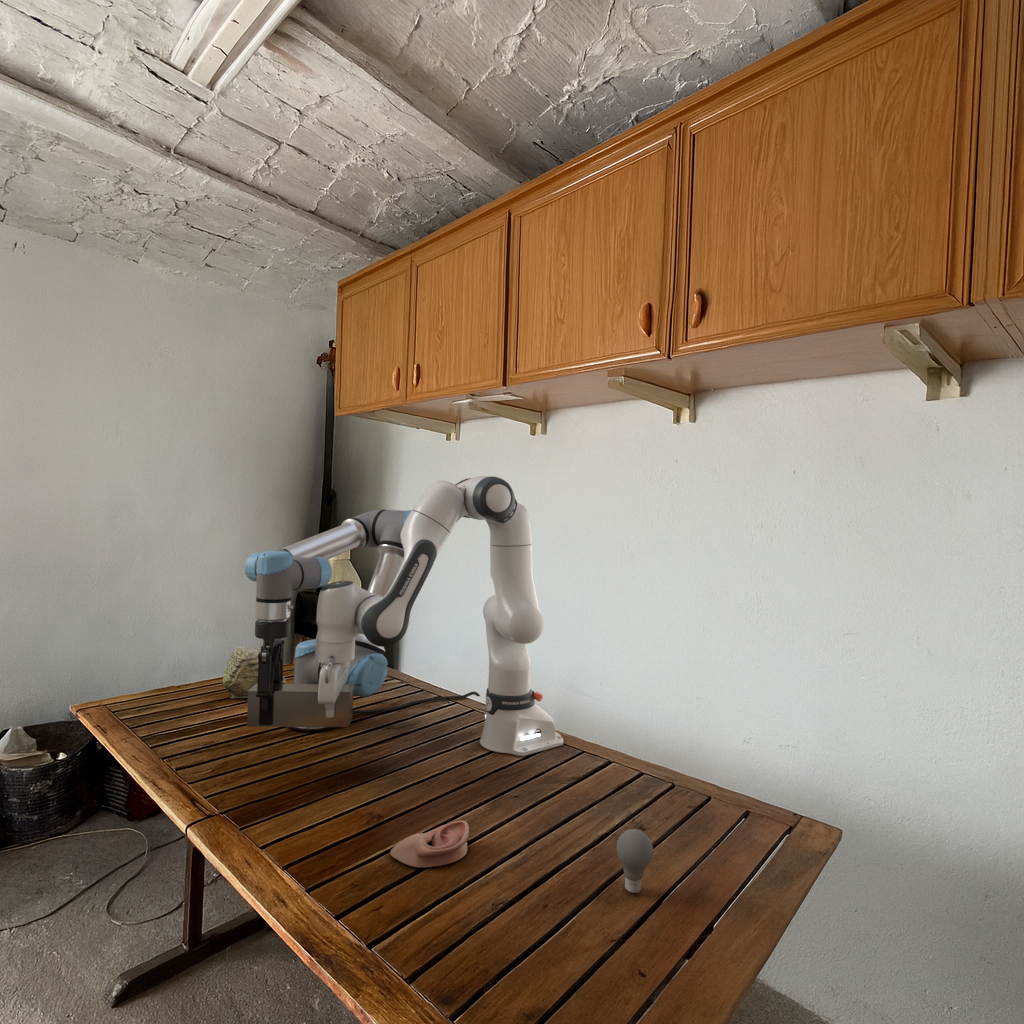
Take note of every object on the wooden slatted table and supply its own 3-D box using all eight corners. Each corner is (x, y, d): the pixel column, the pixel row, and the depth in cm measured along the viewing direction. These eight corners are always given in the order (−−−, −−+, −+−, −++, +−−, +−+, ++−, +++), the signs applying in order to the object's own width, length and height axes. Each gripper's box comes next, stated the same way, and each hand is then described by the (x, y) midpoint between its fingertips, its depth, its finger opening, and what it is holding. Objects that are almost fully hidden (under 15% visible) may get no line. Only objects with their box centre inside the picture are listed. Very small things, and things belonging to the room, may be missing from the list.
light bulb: (610, 879, 108) (613, 822, 108) (644, 879, 109) (647, 822, 109) (619, 902, 102) (622, 840, 102) (655, 901, 103) (658, 840, 103)
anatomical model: (384, 839, 110) (407, 809, 122) (383, 862, 111) (407, 829, 122) (457, 851, 108) (474, 819, 119) (456, 874, 108) (473, 840, 119)
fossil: (218, 695, 195) (220, 647, 195) (278, 685, 208) (279, 640, 207) (228, 703, 189) (230, 653, 188) (289, 692, 201) (290, 645, 201)
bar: (246, 726, 142) (248, 690, 142) (254, 718, 147) (255, 683, 147) (348, 727, 144) (350, 691, 144) (352, 718, 150) (353, 684, 150)
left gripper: (279, 628, 136) (275, 735, 136) (299, 612, 154) (295, 706, 155) (243, 627, 135) (239, 735, 135) (267, 611, 153) (263, 706, 154)
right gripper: (342, 663, 136) (339, 727, 137) (355, 642, 157) (352, 697, 157) (311, 663, 136) (309, 727, 136) (328, 641, 156) (326, 697, 156)
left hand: (269, 719), depth 145 cm, fingers closed on bar, 5 cm apart
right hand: (332, 711), depth 147 cm, fingers closed on bar, 5 cm apart
